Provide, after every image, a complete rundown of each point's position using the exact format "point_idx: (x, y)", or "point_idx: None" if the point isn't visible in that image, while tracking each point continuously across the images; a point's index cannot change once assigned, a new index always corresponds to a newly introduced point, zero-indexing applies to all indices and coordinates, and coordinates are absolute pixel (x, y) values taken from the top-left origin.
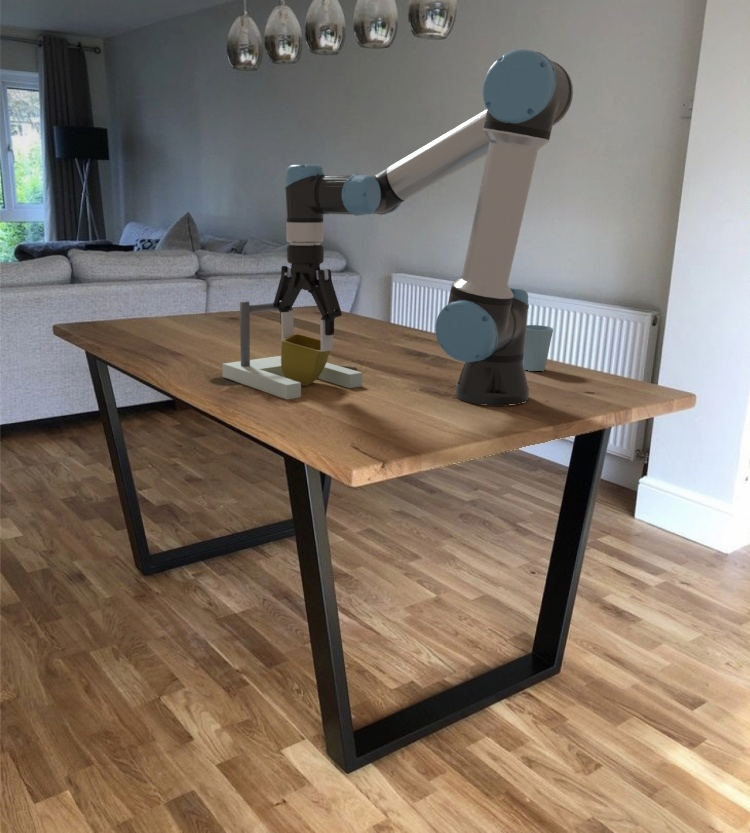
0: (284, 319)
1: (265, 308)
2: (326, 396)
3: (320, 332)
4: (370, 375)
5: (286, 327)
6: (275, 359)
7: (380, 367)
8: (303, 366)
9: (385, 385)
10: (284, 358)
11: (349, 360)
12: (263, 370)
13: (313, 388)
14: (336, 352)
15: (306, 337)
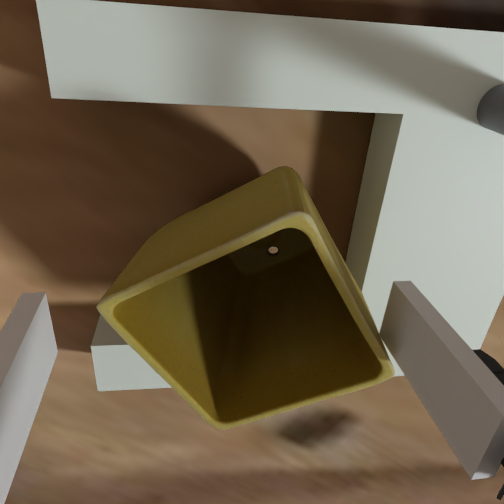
0: (465, 382)
1: None
2: (32, 182)
3: (5, 374)
4: (208, 434)
5: (430, 353)
6: (468, 275)
7: (264, 487)
8: (186, 222)
9: (79, 407)
10: (274, 182)
11: (377, 471)
12: (393, 138)
13: (171, 218)
14: (461, 486)
15: (332, 387)
